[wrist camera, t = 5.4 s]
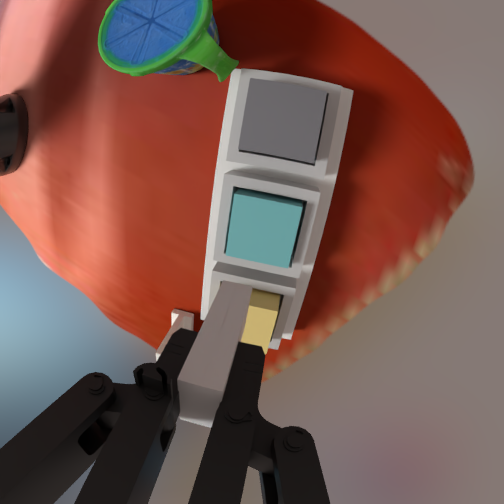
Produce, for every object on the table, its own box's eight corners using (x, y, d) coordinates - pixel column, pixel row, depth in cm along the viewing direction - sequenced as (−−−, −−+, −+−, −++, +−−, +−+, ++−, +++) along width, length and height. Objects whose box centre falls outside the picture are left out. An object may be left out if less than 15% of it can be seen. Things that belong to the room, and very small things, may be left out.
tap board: (204, 310, 37) (193, 333, 32) (236, 72, 24) (225, 61, 20) (291, 329, 36) (289, 355, 32) (349, 93, 24) (360, 85, 19)
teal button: (234, 240, 30) (225, 255, 26) (242, 185, 27) (234, 193, 24) (289, 251, 29) (288, 268, 26) (301, 197, 27) (302, 207, 23)
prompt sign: (174, 338, 40) (151, 379, 32) (174, 308, 38) (147, 349, 29) (192, 343, 40) (172, 386, 32) (194, 313, 37) (170, 357, 29)
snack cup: (272, 56, 23) (260, 19, 14) (201, 121, 27) (158, 115, 18) (181, -10, 20) (143, -47, 11) (122, 48, 24) (70, 31, 15)
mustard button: (221, 320, 33) (212, 342, 29) (226, 278, 30) (217, 298, 26) (269, 331, 32) (266, 354, 29) (280, 290, 30) (278, 311, 26)
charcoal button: (246, 147, 24) (237, 149, 21) (256, 86, 22) (250, 77, 18) (310, 159, 24) (313, 163, 20) (322, 98, 21) (327, 91, 18)
